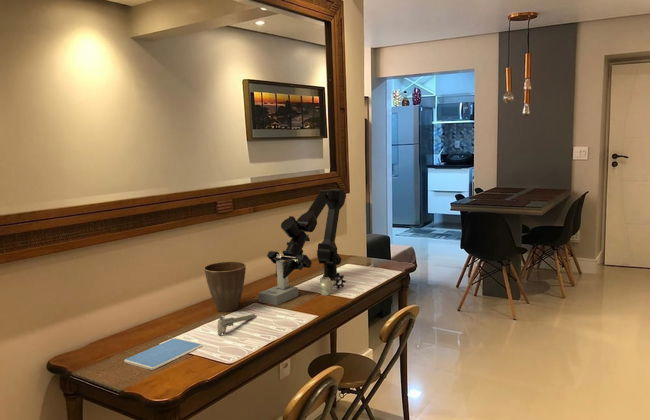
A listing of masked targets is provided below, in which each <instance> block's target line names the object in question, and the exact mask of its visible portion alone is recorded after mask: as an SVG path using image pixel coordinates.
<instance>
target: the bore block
mask: <svg viewBox="0 0 650 420" xmlns="http://www.w3.org/2000/svg"><path fill="white" fill-rule="evenodd" d="M257 295H258V297H257V298H258V302H259V303H264V304H268V305H269V304H270V305H274V306H278V305H280V304H283V303H285V302H287V301H290V300H292V299H295V298H296V297H299V287H298V286H291V285H289V288H288V289H286V290H280V289H278V284H277V285H275V286H273V287H270V288H268V289H265V290H262V291H259V292H258V293H257Z"/></svg>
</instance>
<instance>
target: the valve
mask: <svg viewBox="0 0 650 420" xmlns="http://www.w3.org/2000/svg"><path fill="white" fill-rule="evenodd" d="M336 274H337V275H335V274H333V275H332V276H333V278H332V279H330V278H329V277H323V276H322V277H320V279H319V282H320V284H319V289H320V295H321V296H329V295H331V289H332V288H333V287H336V289H340V288H344V287H345V283H346V280H345V279H344V278H345V275H343V274H341V275H340V272H337V273H336ZM336 277H338V278H336Z"/></svg>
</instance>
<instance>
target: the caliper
mask: <svg viewBox="0 0 650 420" xmlns="http://www.w3.org/2000/svg"><path fill="white" fill-rule="evenodd" d="M255 316H256V317H258V316H257V314H256V313H249V314H245V315H240V316H236V317H233V316H229V317H225V315H220V316H219V319H218V320H217V335H218V336H221V335H223V334H222V333H225V334H226V332H227V327H231V326H234V324H235V323H239V322H244V321H250V320H252V319H251V318H253V317H254V318H255ZM254 318H253V319H254Z"/></svg>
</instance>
